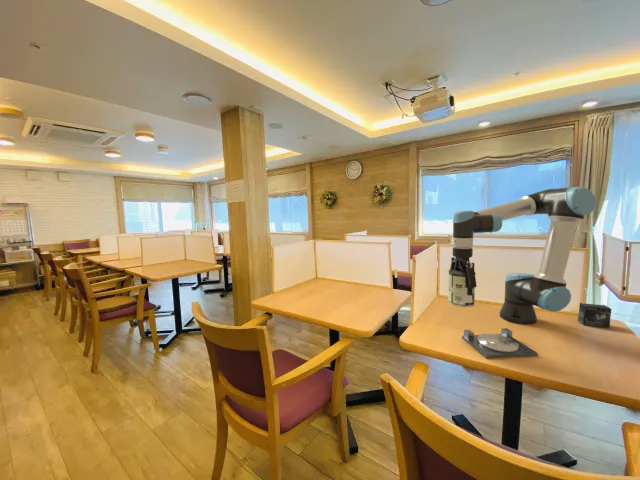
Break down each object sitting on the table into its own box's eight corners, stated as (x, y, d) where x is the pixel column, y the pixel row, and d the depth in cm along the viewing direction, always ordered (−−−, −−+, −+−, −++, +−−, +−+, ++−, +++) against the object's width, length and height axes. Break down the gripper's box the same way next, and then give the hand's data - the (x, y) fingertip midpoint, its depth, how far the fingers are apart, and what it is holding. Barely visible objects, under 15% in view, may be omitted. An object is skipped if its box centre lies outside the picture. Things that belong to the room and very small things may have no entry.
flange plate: (506, 336, 118) (507, 327, 117) (537, 356, 102) (538, 346, 101) (461, 338, 117) (462, 329, 116) (486, 358, 101) (486, 348, 100)
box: (583, 325, 126) (585, 306, 125) (577, 321, 131) (579, 302, 130) (609, 328, 123) (612, 308, 122) (602, 323, 128) (604, 304, 127)
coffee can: (470, 299, 121) (471, 269, 119) (478, 308, 111) (479, 274, 109) (445, 298, 123) (446, 268, 122) (450, 306, 113) (451, 274, 112)
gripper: (441, 244, 125) (440, 290, 128) (469, 251, 103) (467, 307, 105) (457, 243, 125) (456, 290, 128) (488, 251, 103) (486, 307, 106)
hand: (461, 298), depth 117 cm, fingers closed on coffee can, 10 cm apart
